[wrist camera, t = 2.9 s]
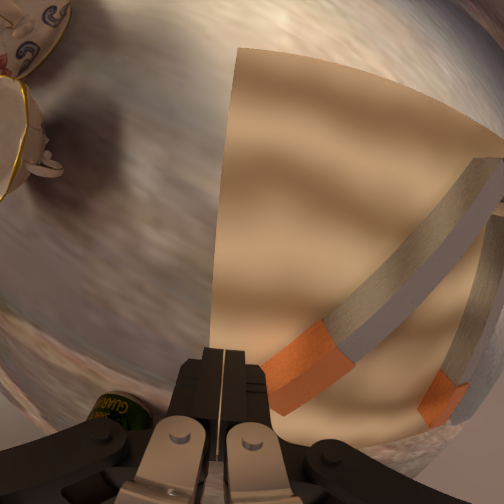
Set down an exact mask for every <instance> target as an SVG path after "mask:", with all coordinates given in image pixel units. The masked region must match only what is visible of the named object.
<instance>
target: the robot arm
mask: <svg viewBox="0 0 504 504" xmlns="http://www.w3.org/2000/svg"><path fill="white" fill-rule="evenodd" d="M223 354H224V349H217V348H208V347H204V351H203V356H202V360H197V359H188V360H187V361H186V362H185V363H184V364H183V365H182V366H181V368H180V371H179V374H178V378H177V381H176V386H175V388H174V391H173V395H172V398H171V401H170V405H169V408H168V412H167V415H166V418H165V419H163V420H161V421H160V422H159V423H158V424H157V425H156V427H154V428H151V429H147V430H131V431H125V430H124V428H123V427H122V426H121V425H120V424H119V423H118V422H116V421H114V420H112V419H109V418H104V417H98V418H93V419H90V420H87V421H85V422H83V423H80V424H78V425H75V426H73V427H70V428H68V429H65V430H62V431H60V432H57V433H54V434H52V435H49V436H46V437H43V438H40V439H38V440H35V441H32V442H29V443H25V444H23V445H19V446H16V447H13V448H9V449H6V450H2V451H0V504H202V499H203V494H204V489H205V483H206V478H207V475H208V469H209V461H216V450H217V436H218V422H219V409H220V397H221V384H222V368H223ZM218 461H222V462H224V475H223V489H224V503H225V504H471V503H468V502H466V501H463V500H460V499H457V498H455V497H452V496H449V495H447V494H444V493H442V492H439V491H437V490H435V489H432V488H430V487H428V486H426V485H423V484H421V483H419V482H417V481H414V480H413V479H411V478H409V477H406V476H404V475H402V474H400V473H398V472H397V471H395V470H393V469H391V468H389V467H387V466H385V465H383V464H381V463H380V462H378V461H376V460H374V459H372V458H371V457H369V456H367V455H365V454H364V453H362V452H360V451H359V450H357V449H355V448H353V447H352V446H350V445H349V444H347V443H345V442H343V441H340V440H337V439H323V440H320V441H317V442H316V443H314V444H313V445H312V446H311V447H309V446H303V445H298V444H294V443H290V442H288V441H285V440H283V439H282V438H280V437H279V436H278V435H277V434H276V433H275V431H274V430H273V428H272V424H271V416H270V408H269V401H268V394H267V386H266V377H265V373H264V372H263V370H262V369H261V368H260V366H259V365H255V364H245V351H241V350H229V349H226V350H225V361H224V373H223V386H222V399H221V412H220V428H219V447H218Z"/></svg>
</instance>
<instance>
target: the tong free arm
mask: <svg viewBox="0 0 504 504" xmlns="http://www.w3.org/2000/svg"><path fill="white" fill-rule="evenodd" d="M499 202H500V203H504V158H498V157H486V158H473V159H472V160H471V162H470V163H469V165H468V166H467V167H466V169H465V170H464V171H463V173H462V174H461V175H460V177H459V178H458V179H457V180H456V182H455V183H454V184H453V186H452V187H451V188H450V189H449V191H448V192H447V193H446V194H445V196H444V197H443V198H442V199H441V200H440V202H439V203H438V204H437V205H436V206H435V208H434V209H433V210H432V211H431V212H430V213H429V215H428V216H427V217H426V218H425V219H424V220H423V221H422V223H421V224H420V225H419V226H418V227H417V228H416V229H415V230H414V231H413V233H412V234H411V235H410V236H409V237H408V238H407V239H406V240H405V241H404V242H403V243H402V244H401V245H400V247H399V248H398V249H397V250H396V251H395V252H394V253H393V254H392V255H391V256H390V257H389V258H388V259H387V260H386V261H385V262H384V263H383V264H382V265H381V266H380V267H379V268H378V269H377V270H376V271H375V272H374V273H373V274H372V275H371V276H370V277H369V278H368V279H367V280H366V281H365V282H364V283H363V284H361V285H360V286H359V287H358V288H357V289H356V290H355V291H354V292H353V293H352V294H351V295H350V296H349V297H347V298H346V299H345V300H344V301H343V302H342V303H341V304H340V305H339V306H337V307H336V308H335V309H334V310H333V311H332V312H331V313H330V314H328V315H327V316H326V317H325V318H324V319H323V320H322V319H321V318H320V319H319V320H318V321H317V322H315V323H314V324H313V325H312V326H311V327H310V328H308V329H307V330H306V331H305V332H303V333H302V334H301V335H300V336H299V337H297V338H296V339H295V340H294V341H292V342H291V343H290V344H289V345H287V346H286V347H285V348H284V349H282V350H281V351H280V352H278V353H277V354H276V355H275V356H273V357H272V358H271V359H269V360H268V361H267V362H265V363H264V364H263V365H261V366H260V368H261V369H262V370H263V372H264V373H265V377H266V386H267V394H268V401H269V408H270V409H272V410H273V411H275V412H277V413H278V414H280V415H282V416H283V417H285V416H286V415H288V414H289V413H291V412H293V411H294V410H296V409H297V408H299V407H300V406H302V405H304V404H305V403H307V402H308V401H310V400H311V399H312V398H314V397H315V396H317V395H318V394H320V393H321V392H323V391H324V390H325V389H327V388H328V387H330V386H331V385H332V384H334V383H335V382H336V381H338V380H339V379H340V378H342V377H343V376H344V375H346V374H347V373H348V372H349V371H351V370H352V369H353V368H355V367H356V365H355V364H356V363H357V362H358V361H359V360H360V359H362V358H363V357H364V356H365V355H366V354H368V353H369V352H370V351H371V350H372V349H374V348H375V347H376V346H377V345H378V344H379V343H380V342H382V341H383V340H384V339H385V338H386V337H387V336H388V335H389V334H390V333H391V332H393V331H394V330H395V329H396V328H397V327H398V326H399V325H400V324H401V323H402V322H403V321H404V320H405V319H406V318H407V317H408V316H409V315H410V314H411V313H412V312H413V311H414V310H415V309H416V308H417V307H418V306H419V305H420V304H421V303H422V302H423V301H424V300H425V299H426V298H427V297H428V295H429V294H430V293H431V292H432V291H433V290H434V289H435V288H436V287H437V286H438V284H439V283H440V282H441V281H442V280H443V279H444V278H445V276H446V275H447V274H448V273H449V272H450V270H451V269H452V268H453V267H454V266H455V264H456V263H457V262H458V261H459V259H460V258H461V257H462V256H463V254H464V253H465V252H466V250H467V249H468V248H469V246H470V245H471V244H472V242H473V241H474V240H475V238H476V237H477V236H478V234H479V233H480V231H481V230H482V228H483V227H484V226H485V224H486V223H487V221H488V220H489V218H490V217H491V215H492V214H493V212H494V210H495V209H496V207H497V206H498V204H499Z"/></svg>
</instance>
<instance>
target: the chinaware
mask: <svg viewBox="0 0 504 504" xmlns="http://www.w3.org/2000/svg"><path fill="white" fill-rule="evenodd" d="M71 14H72V8H71V5H70V0H0V202H1V201H2V200H3V198H4V197H5V196H6V195H8V194H9V193H11V192H13V191H14V190H16V189H17V188H18V187H19V186H21V185H22V184H23V183H24V182H25V181H26V180H27V178H28V177H29V176H30V174H31V173H33V174H35V175H37V176H41V177H48V178H53V177H59V176H61V175H62V173H63V171H64V168H63V166H62V165H61V164H60V163H58V162H56V161H53V160H50V159H51V157H52V154H51V152H50V151H48V150H45V146H46V143H48V142H49V139H48V138H46V134H45V131H44V122H43V117H42V114H41V111H40V109H39V107H38V105H37V104H36V102H35V101H34V100H33V99H32V98H31V97H30V96H29V95H30V91H29V88H28V86H27V85H26V84H24V83H23V81H21V79H23V78H25V77H26V76H28V75H29V74H31V73H32V72H33V71H34V70H35V69H37V68H38V67H39V66H40V65H41V64H42V63H43V62H44V60H45V59H46V58H47V57H48V56H49V55H50V53H51V52H52V51H53V50H54V48H55V47H56V45H57V44H58V43H59V41H60V39H61V38H62V36H63V34H64V33H65V31H66V29H67V27H68V24H69V22H70V18H71ZM44 150H45V151H44ZM41 162H42V163H44V164H45V165H47V166H50V167H52V168H55V169H52V168H47V167H44V166H39V165H40V164H41ZM37 163H38V164H39V165H36V164H37Z"/></svg>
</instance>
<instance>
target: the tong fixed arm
mask: <svg viewBox="0 0 504 504" xmlns="http://www.w3.org/2000/svg"><path fill="white" fill-rule="evenodd" d="M503 305H504V217H502V216H498V215H494V214H492V215H491V217H490V218H489V220H488V221H487V223H486V228H485V234H484V239H483V244H482V249H481V254H480V258H479V262H478V266H477V270H476V274H475V278H474V281H473V285H472V288H471V291H470V295H469V298H468V301H467V304H466V307H465V310H464V313H463V315H462V318H461V321H460V323H459V326H458V329H457V331H456V334H455V336H454V339H453V341H452V343H451V346H450V348H449V350H448V352H447V355H446V357H445V359H444V361H443V363H442V365H441V367H440V369H439V370H438V372H437V374H436V376H435V378H434V380H433V382H432V384H431V385H430V387H429V389H428V391H427V393H426V394H425V396H424V398H423V400H422V401H421V403H420V405H419V406H418V408H417V410H418V412H419V413H420V415H421V416H422V418H423V419H424V421H425V423H426V424H427V426H428V427H429V429H433V428H436V427H438V426H441V425H444V424H445V423H446V421H447V420H448V419H449V417H450V416H451V414H452V413H453V411H454V410H455V408H456V407H457V405H458V404H459V402H460V400H461V399H462V397H463V395H464V394H465V392H466V390H467V389H468V387H469V385H470V383H469V381H470V379H471V377H472V376H473V374H474V372H475V370H476V368H477V366H478V364H479V362H480V360H481V358H482V356H483V354H484V352H485V350H486V347H487V345H488V343H489V341H490V338H491V336H492V334H493V331H494V329H495V326H496V324H497V321H498V319H499V316H500V313H501V310H502V308H503Z"/></svg>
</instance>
